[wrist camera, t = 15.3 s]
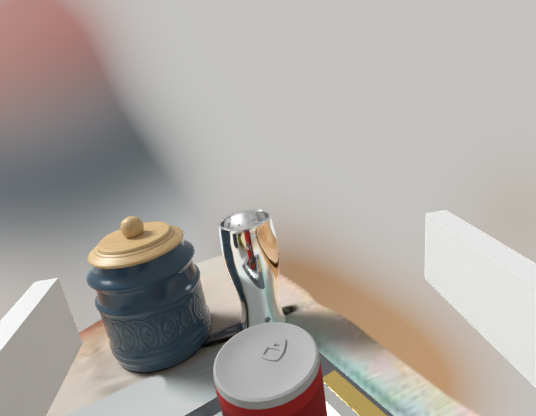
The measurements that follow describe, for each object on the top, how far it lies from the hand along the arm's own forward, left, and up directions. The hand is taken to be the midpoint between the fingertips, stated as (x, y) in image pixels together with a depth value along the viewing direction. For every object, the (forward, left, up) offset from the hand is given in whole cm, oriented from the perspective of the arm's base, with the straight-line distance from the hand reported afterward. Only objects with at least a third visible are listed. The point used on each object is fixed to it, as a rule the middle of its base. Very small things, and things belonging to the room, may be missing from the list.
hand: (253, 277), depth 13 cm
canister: (-27, +21, -24) cm, 42 cm away
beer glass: (-15, +27, -24) cm, 39 cm away
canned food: (-5, +9, -23) cm, 25 cm away
